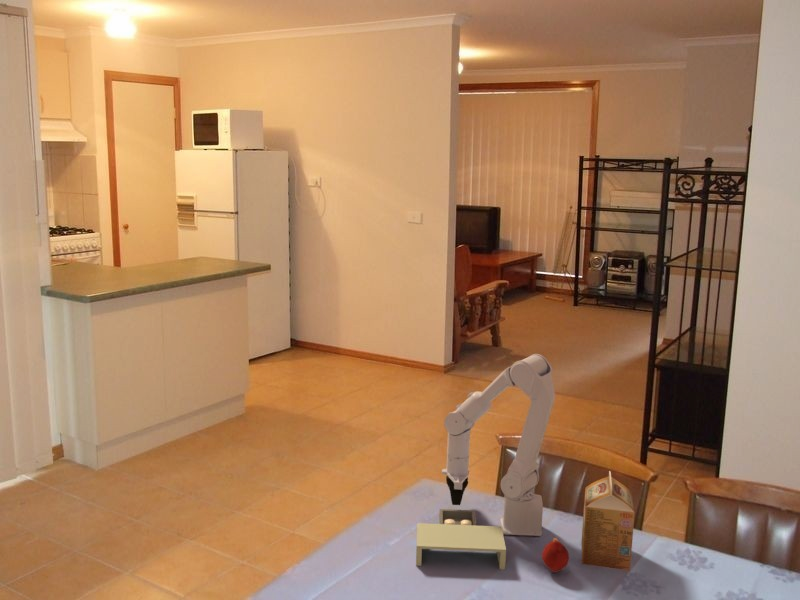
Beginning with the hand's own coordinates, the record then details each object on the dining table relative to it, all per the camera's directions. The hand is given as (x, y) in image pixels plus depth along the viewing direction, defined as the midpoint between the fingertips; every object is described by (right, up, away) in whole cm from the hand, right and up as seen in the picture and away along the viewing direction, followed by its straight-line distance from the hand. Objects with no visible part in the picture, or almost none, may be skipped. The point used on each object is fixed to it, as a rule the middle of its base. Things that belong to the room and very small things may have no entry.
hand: (456, 503), depth 201 cm
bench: (-1, -6, -23) cm, 24 cm away
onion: (+20, -8, -29) cm, 36 cm away
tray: (0, -4, -10) cm, 11 cm away
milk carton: (+33, -7, -22) cm, 40 cm away
